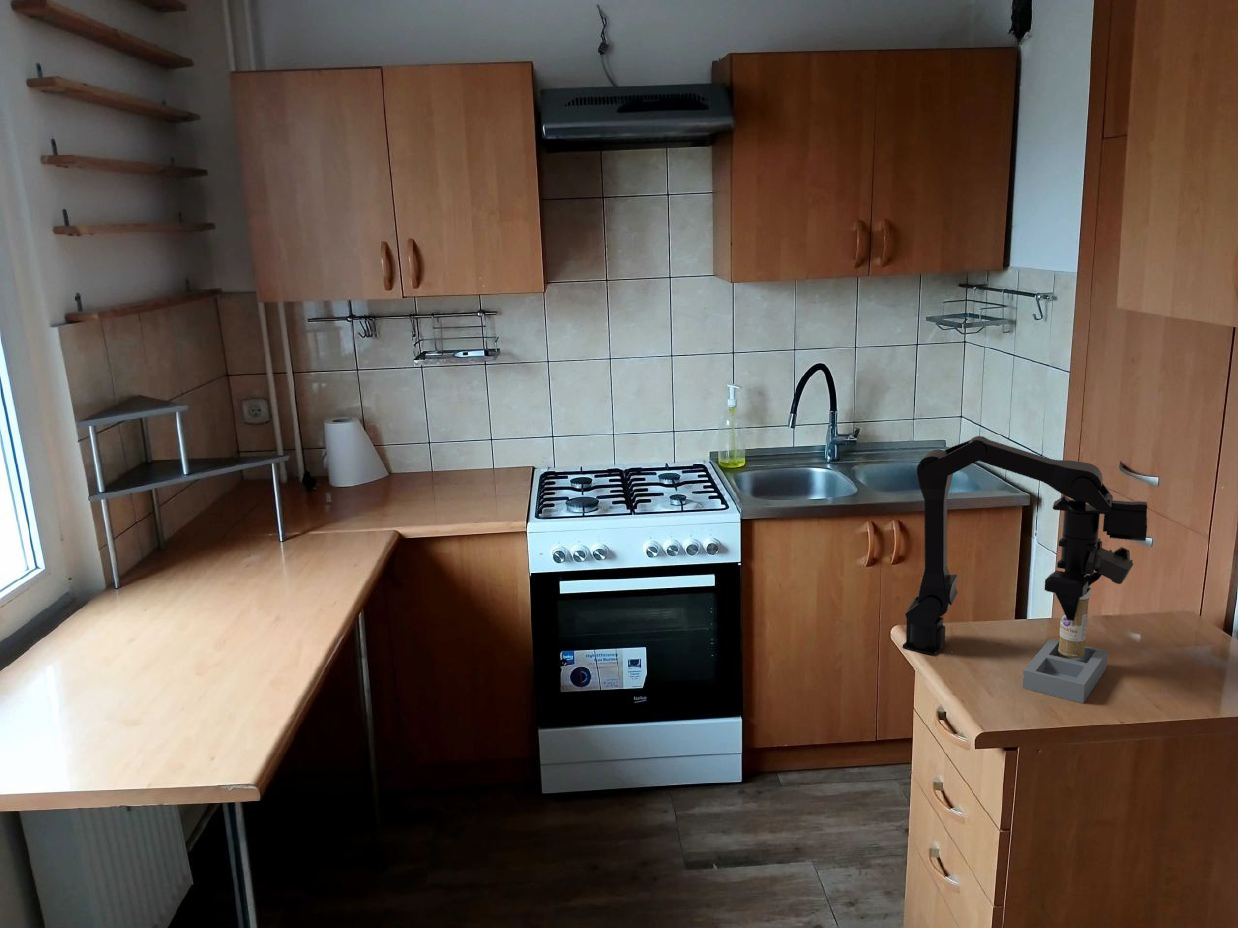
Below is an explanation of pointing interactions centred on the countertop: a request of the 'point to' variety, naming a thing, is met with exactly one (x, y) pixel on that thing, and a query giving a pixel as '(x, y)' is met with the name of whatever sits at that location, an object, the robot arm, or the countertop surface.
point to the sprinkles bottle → (1074, 630)
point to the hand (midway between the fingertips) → (1074, 615)
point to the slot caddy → (1064, 672)
